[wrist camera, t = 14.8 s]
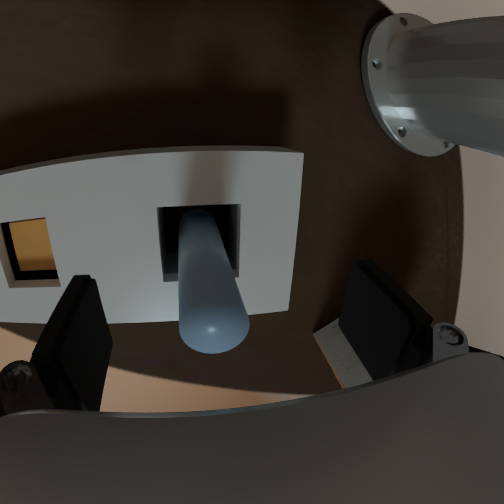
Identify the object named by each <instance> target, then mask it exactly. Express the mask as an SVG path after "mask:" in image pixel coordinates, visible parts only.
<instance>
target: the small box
mask: <svg viewBox="0 0 504 504" xmlns="http://www.w3.org/2000/svg"><path fill="white" fill-rule="evenodd" d="M338 321H339V318H338V319H336V320H335V321H333V322H331V323H330V324H328V325H327V326H325V327H323V328H322V329H320V330H319V331H317V332H315V333H314V334H313V336H314V338H315V340H316V341H317V343H318V345H319V347H320V348H321V350H322V352H323V354H324V356H325V357H326V359H327V361H328V363H329V364H330V366H331V368H332V370H333V372H334V374H335V376H336V377H337V379H338V381H339V382H340V384H341V386H342V388H343V389H344V388H348V387H352V386H356V385H360V384H364V383H367V382H371V381H373V380H372V378H371V377H370V375H369V373H368V372H367V370H366V369H365V367H364V366H363V364H362V362H361V361H360V359H359V358H358V356H357V355H356V353H355V352H354V350H353V348H352V347H351V345H350V344H349V342H348V341H347V339H346V338H345V336H344V335H343V333H342V332H341V330H340V328H339V324H338Z"/></svg>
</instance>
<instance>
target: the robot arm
mask: <svg viewBox="0 0 504 504" xmlns="http://www.w3.org/2000/svg"><path fill="white" fill-rule="evenodd" d="M361 69H362V79H363V84H364V88H365V92H366V96H367V99H368V102H369V104H370V107H371V109H372V112H373V114H374V115H375V117H376V119H377V121H378V123H379V124H380V126H381V127H382V128H383V130H384V131H385V132H386V134H387V135H388V136H389V137H390V138H391V139H392V140H393V141H394V142H395V143H396V144H397V145H399V146H400V147H402V148H404V149H405V150H407V151H409V152H412V153H415V154H418V155H423V156H438V155H441V154H443V153H446V152H447V151H448V150H450V149H451V148H453V146H454V145H455V144H458V145H462V146H467V147H470V148H474V149H478V150H482V151H485V152H489V153H492V154H496V155H499V156H502V157H504V16H493V17H482V18H472V19H464V20H457V21H451V22H445V23H439V24H432V23H431V22H429V21H428V20H426V19H424V18H422V17H420V16H417V15H413V14H408V13H400V14H394V15H391V16H388V17H385V18H383V19H382V20H380V21H378V22H377V23H376V24H375V25H374V26H373V27H372V28H371V29H370V31H369V33H368V35H367V37H366V39H365V42H364V46H363V50H362V62H361ZM432 321H433V318H432V317H431V316H430V315H429V314H428V313H427V312H426V311H425V310H424V309H423V308H422V307H421V306H420V305H419V304H418V303H417V302H416V301H415V300H414V299H413V298H412V297H411V296H410V295H409V294H408V293H407V292H406V291H405V290H404V289H402V288H401V287H400V286H399V285H398V284H397V283H396V282H395V281H394V280H393V279H392V278H391V277H390V276H389V275H388V274H386V273H385V272H384V271H383V270H382V269H381V268H380V267H379V266H378V265H377V264H376V263H374V262H373V261H372V260H358V261H356V263H355V264H354V265H352V267H351V270H350V275H349V280H348V284H347V288H346V292H345V297H344V301H343V305H342V309H341V313H340V317H339V321H338V324H339V328H340V330H341V332H342V333H343V335H344V336H345V338H346V339H347V341H348V342H349V344H350V345H351V347H352V348H353V350H354V352H355V353H356V355H357V356H358V358H359V359H360V361H361V362H362V364H363V366H364V367H365V369H366V370H367V372H368V373H369V375H370V377H371V378H372V380H373V381H371V382H367V383H364V384H360V385H356V386H352V387H348V388H344V389H340V390H336V391H332V392H327V393H323V394H318V395H314V396H309V397H304V398H298V399H293V400H288V401H282V402H275V403H269V404H262V405H256V406H248V407H239V408H230V409H220V410H207V411H192V412H170V413H169V412H167V413H123V412H99V411H100V405H101V399H102V394H103V388H104V383H105V378H106V373H107V368H108V364H109V359H110V355H111V351H112V344H113V343H112V336H111V333H110V330H109V327H108V323H107V320H106V317H105V313H104V309H103V306H102V302H101V298H100V294H99V290H98V286H97V282H96V280H95V279H94V278H91V276H90V275H89V274H88V275H74V276H73V278H72V279H71V281H70V283H69V284H68V286H67V288H66V289H65V291H64V293H63V295H62V296H61V298H60V300H59V302H58V303H57V305H56V307H55V309H54V311H53V313H52V314H51V316H50V318H49V320H48V322H47V324H46V326H45V328H44V330H43V332H42V334H41V336H40V338H39V340H38V342H37V344H36V346H35V349H34V351H33V353H32V357H31V359H30V362H27V361H24V360H19V361H14V362H12V363H10V364H8V365H7V366H5V367H4V368H3V369H2V371H1V372H0V504H504V357H503V356H500V355H496V354H493V353H490V352H487V351H483V350H480V349H477V348H474V347H471V346H468V340H467V337H466V335H465V333H464V332H463V331H462V330H461V329H459V328H458V327H457V326H455V325H452V324H450V323H438V324H436V325H435V326H434V328H433V329H432V328H431V327H430V325H431V323H432Z"/></svg>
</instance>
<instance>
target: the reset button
mask: <svg viewBox="0 0 504 504" xmlns="http://www.w3.org/2000/svg"><path fill="white" fill-rule="evenodd" d="M9 226H10V231H11V235H12V240H13V244H14V248H15V252H16V256H17V260H18V263H19V267H20V270H21V271H31V270H51V269H56V265H55V261H54V257H53V253H52V248H51V244H50V239H49V234H48V229H47V223H46V217H42V218H34V219H26V220H18V221H12V222H10V223H9Z"/></svg>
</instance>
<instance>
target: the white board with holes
mask: <svg viewBox="0 0 504 504" xmlns="http://www.w3.org/2000/svg"><path fill="white" fill-rule="evenodd" d="M303 156H304V153H301V152H298V151H294V150H291V149H287V148H283V147H274V146H235V145H216V146H178V147H159V148H144V149H132V150H121V151H111V152H103V153H94V154H87V155H79V156H73V157H66V158H60V159H54V160H48V161H43V162H37V163H32V164H27V165H23V166H18V167H13V168H9V169H5V170H1V171H0V322H19V323H47V322H48V320H49V318H50V316H51V314H52V313H53V311H54V309H55V307H56V305H57V303H58V302H59V300H60V298H61V296H62V295H63V293H64V291H65V289H66V288H67V286H68V284H69V283H70V281H71V279H72V278H73V276H74V275H88V274H89V275H90V276H91V278H94V279H95V280H96V282H97V286H98V290H99V294H100V298H101V302H102V306H103V309H104V313H105V317H106V320H107V323H136V322H159V321H177V320H179V299H178V252H175V253H166V245H165V232H164V217H163V207H172V206H193V205H217V204H229V249H228V250H225V251H226V254H227V257H228V260H229V263H230V266H231V269H232V272H233V275H234V277H235V280H236V283H237V286H238V289H239V292H240V295H241V298H242V301H243V303H244V306H245V309H246V312H247V315H251V314H260V313H270V312H279V311H287V310H288V306H289V298H290V290H291V282H292V273H293V264H294V255H295V246H296V236H297V226H298V216H299V205H300V194H301V182H302V169H303ZM42 217H46V223H47V229H48V234H49V239H50V244H51V248H52V253H53V257H54V261H55V265H56V269H57V273H58V277H59V279H45V280H16V279H15V276H14V273H13V269H12V266H11V262H10V259H9V255H8V251H7V247H6V243H5V239H4V235H3V230H2V226H1V223H4V222H11V221H18V220H26V219H34V218H42Z"/></svg>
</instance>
